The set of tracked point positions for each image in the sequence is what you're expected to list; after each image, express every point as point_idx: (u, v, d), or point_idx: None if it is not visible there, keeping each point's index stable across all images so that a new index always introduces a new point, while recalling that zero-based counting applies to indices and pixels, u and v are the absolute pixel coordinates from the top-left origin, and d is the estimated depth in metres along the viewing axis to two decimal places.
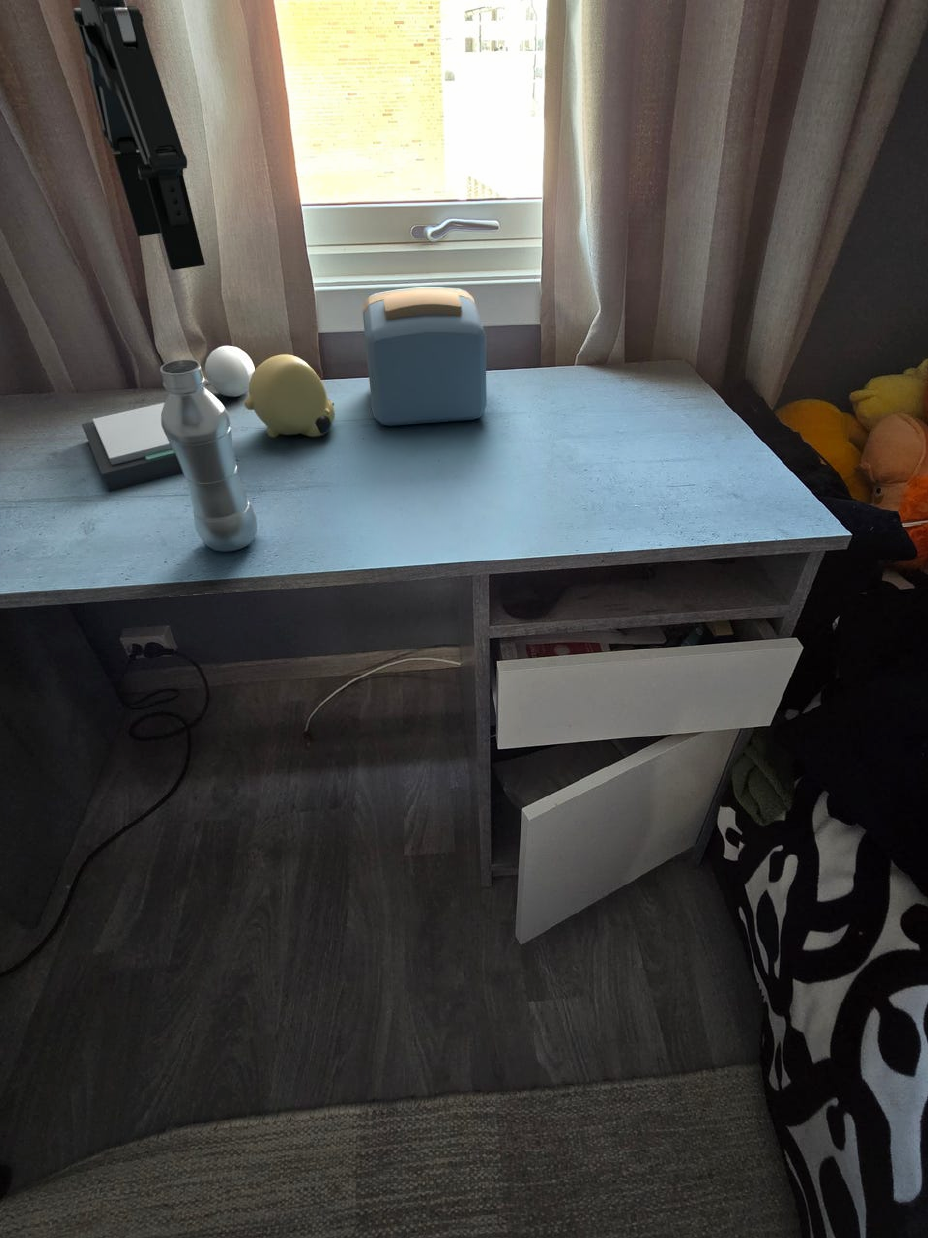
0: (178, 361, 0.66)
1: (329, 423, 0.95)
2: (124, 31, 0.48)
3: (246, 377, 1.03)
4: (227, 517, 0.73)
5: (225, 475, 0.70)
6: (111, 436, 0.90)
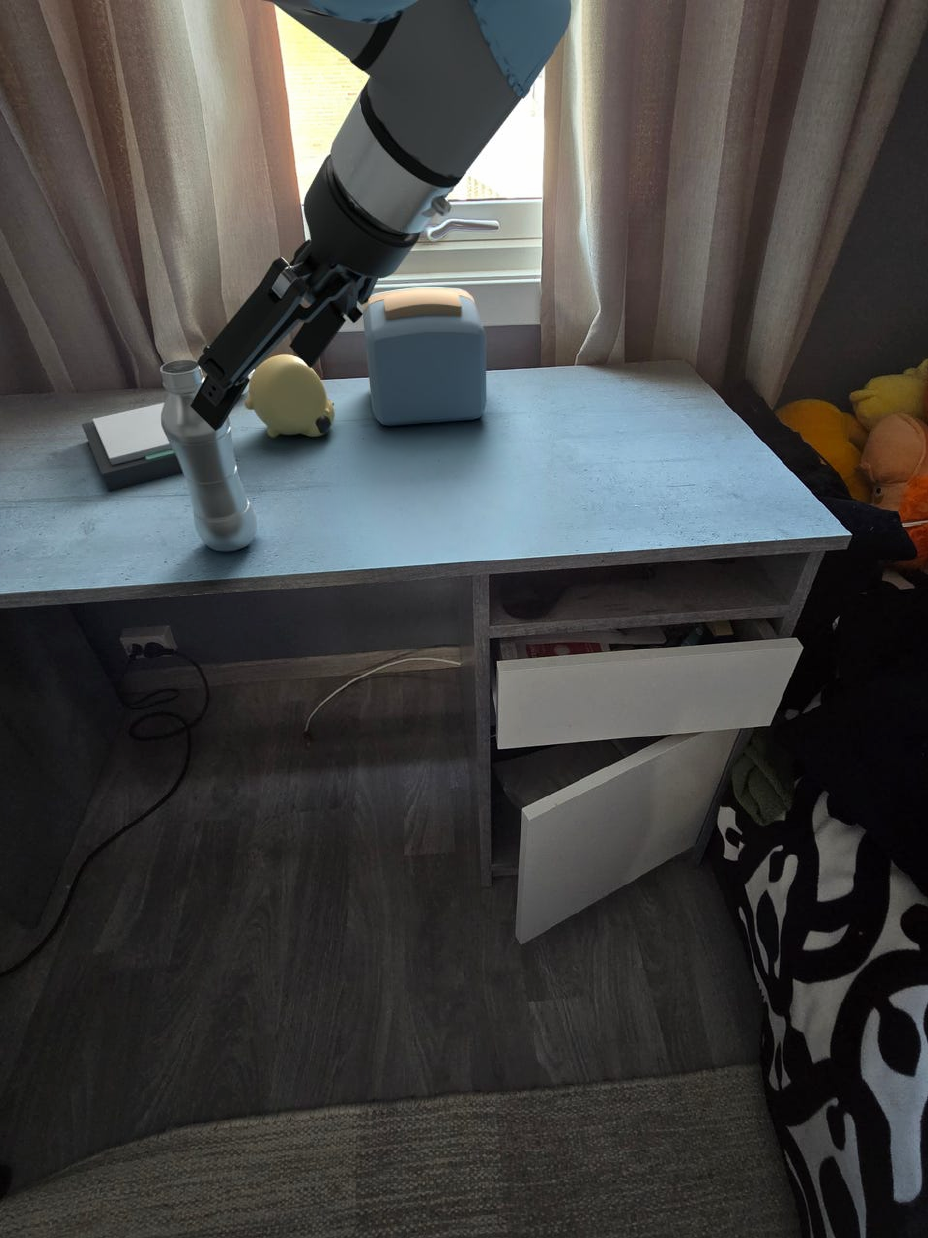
0: (178, 361, 0.66)
1: (329, 423, 0.95)
2: (276, 286, 0.46)
3: None
4: (227, 517, 0.73)
5: (225, 475, 0.70)
6: (111, 436, 0.90)
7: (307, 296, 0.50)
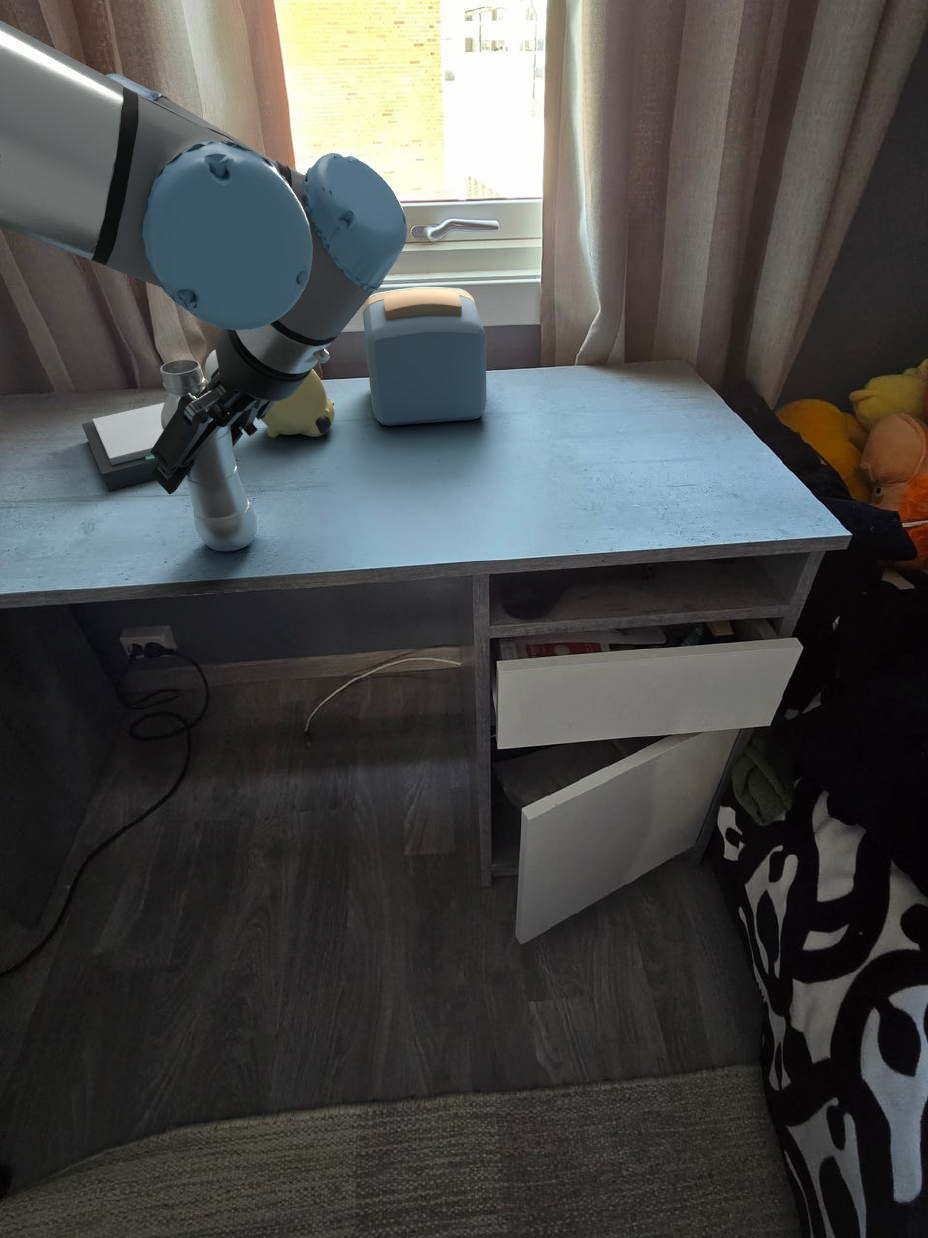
0: (178, 361, 0.66)
1: (329, 423, 0.95)
2: (186, 415, 0.58)
3: None
4: (227, 517, 0.73)
5: (225, 475, 0.70)
6: (111, 436, 0.90)
7: (220, 408, 0.61)
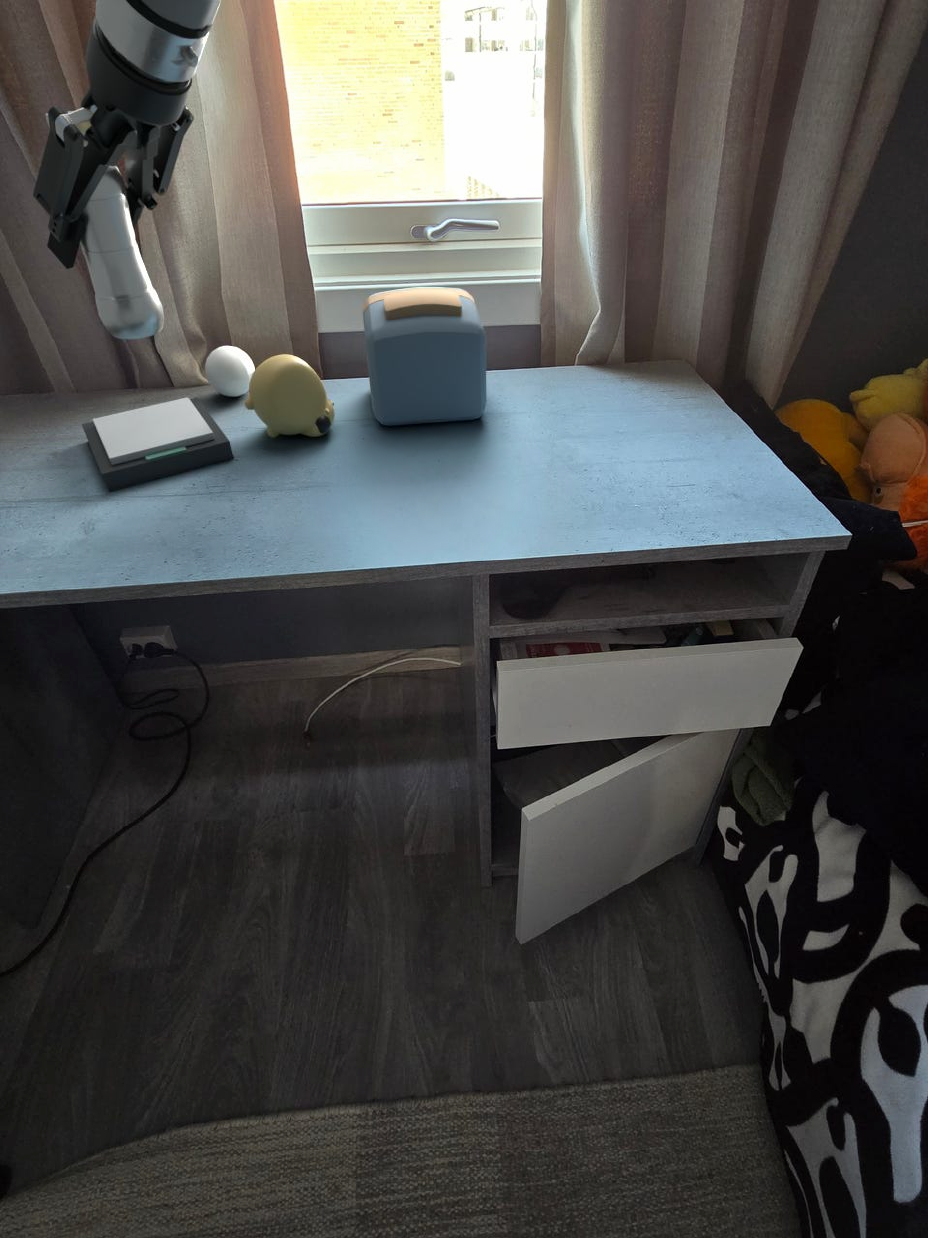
0: (67, 112, 0.64)
1: (329, 423, 0.95)
2: (57, 133, 0.56)
3: (246, 377, 1.03)
4: (128, 296, 0.71)
5: (122, 245, 0.69)
6: (111, 436, 0.90)
7: (99, 139, 0.59)
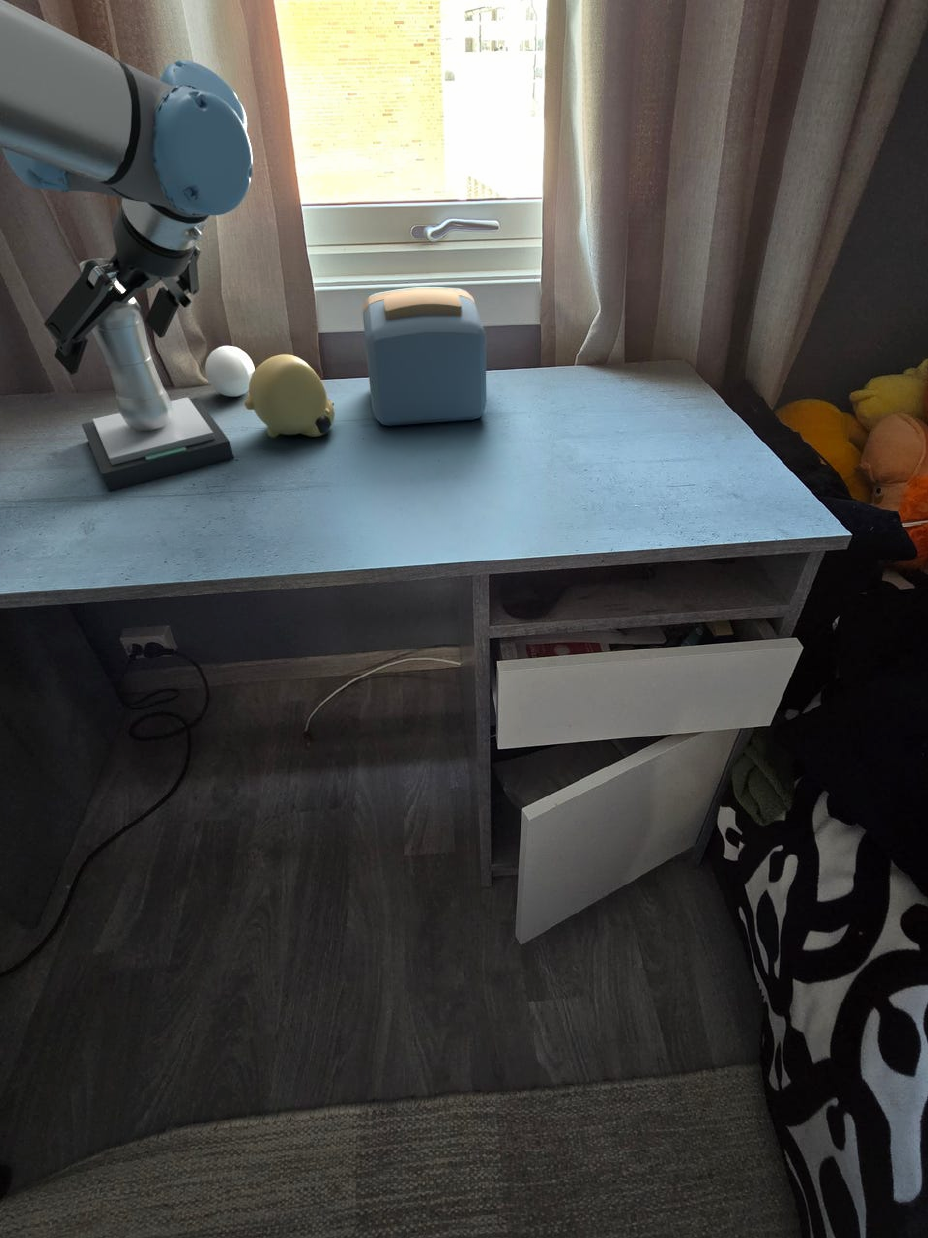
0: (96, 259, 0.80)
1: (329, 423, 0.95)
2: (90, 278, 0.71)
3: (246, 377, 1.03)
4: (143, 398, 0.87)
5: (139, 360, 0.85)
6: (111, 436, 0.90)
7: (122, 286, 0.75)
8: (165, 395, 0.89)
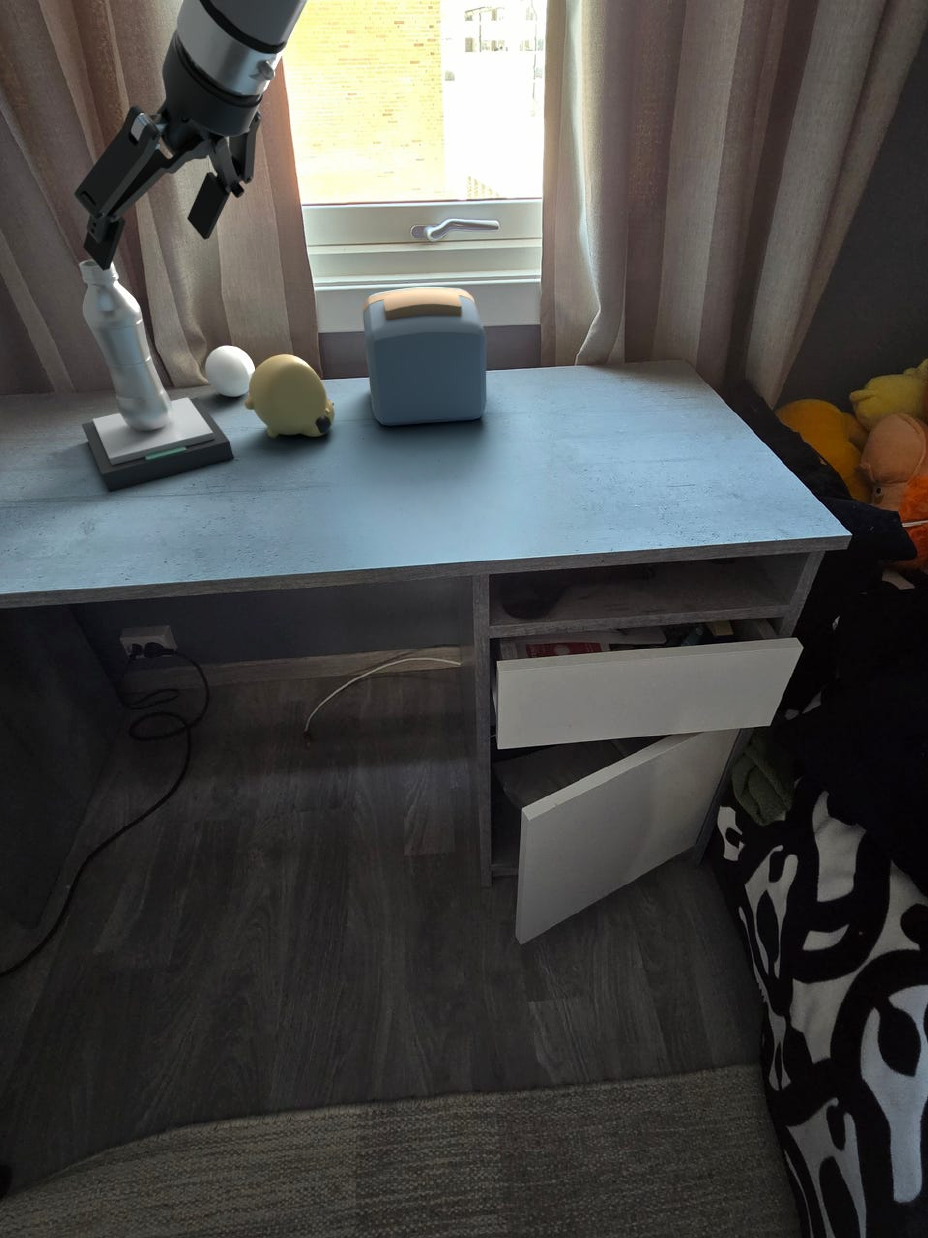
0: None
1: (329, 423, 0.95)
2: (133, 130, 0.57)
3: (246, 377, 1.03)
4: (143, 398, 0.87)
5: (139, 359, 0.85)
6: (111, 436, 0.90)
7: (170, 149, 0.61)
8: (165, 395, 0.89)
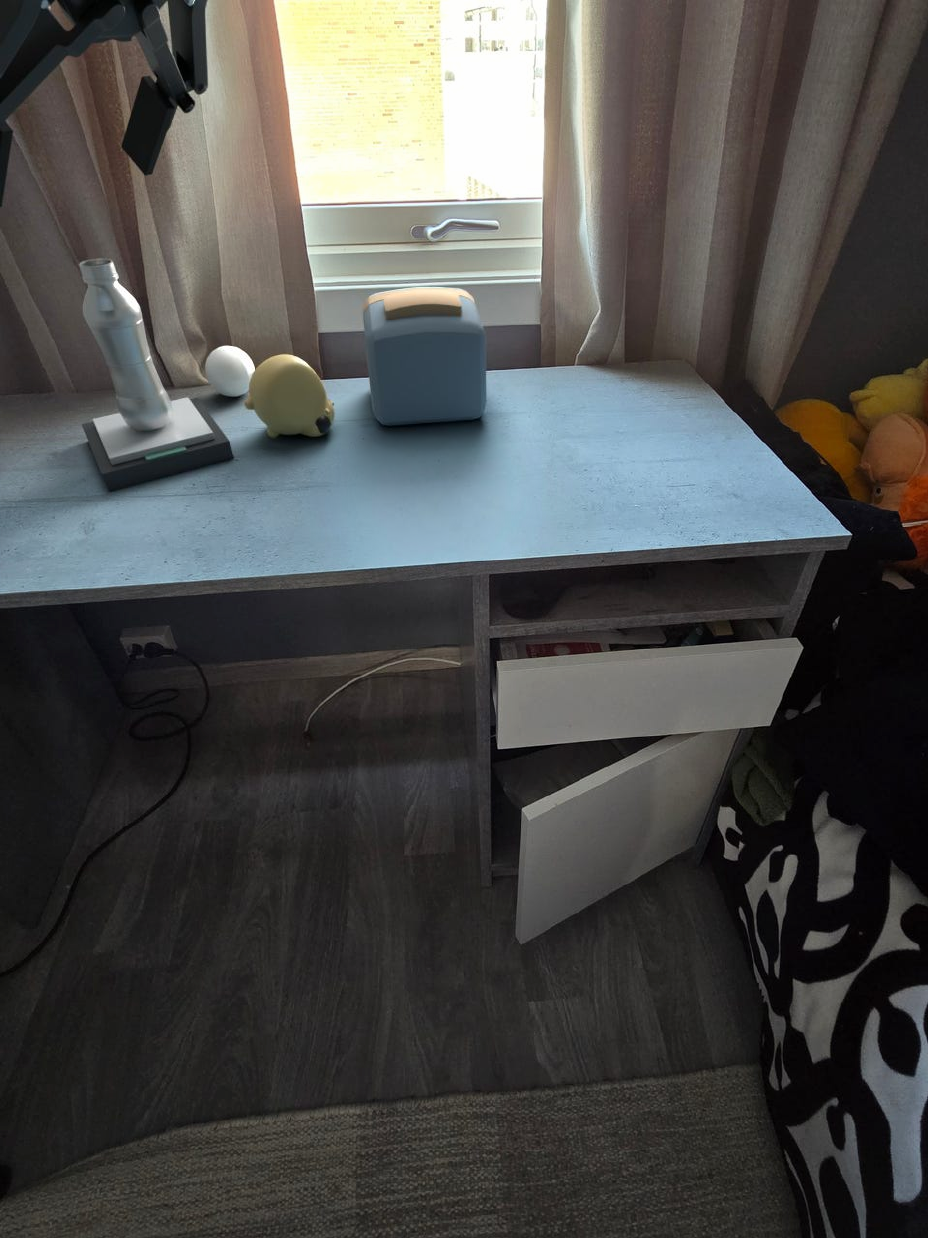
0: (95, 259, 0.80)
1: (329, 423, 0.95)
2: None
3: (246, 377, 1.03)
4: (143, 398, 0.87)
5: (139, 359, 0.85)
6: (111, 436, 0.90)
7: (71, 17, 0.41)
8: (165, 395, 0.89)
